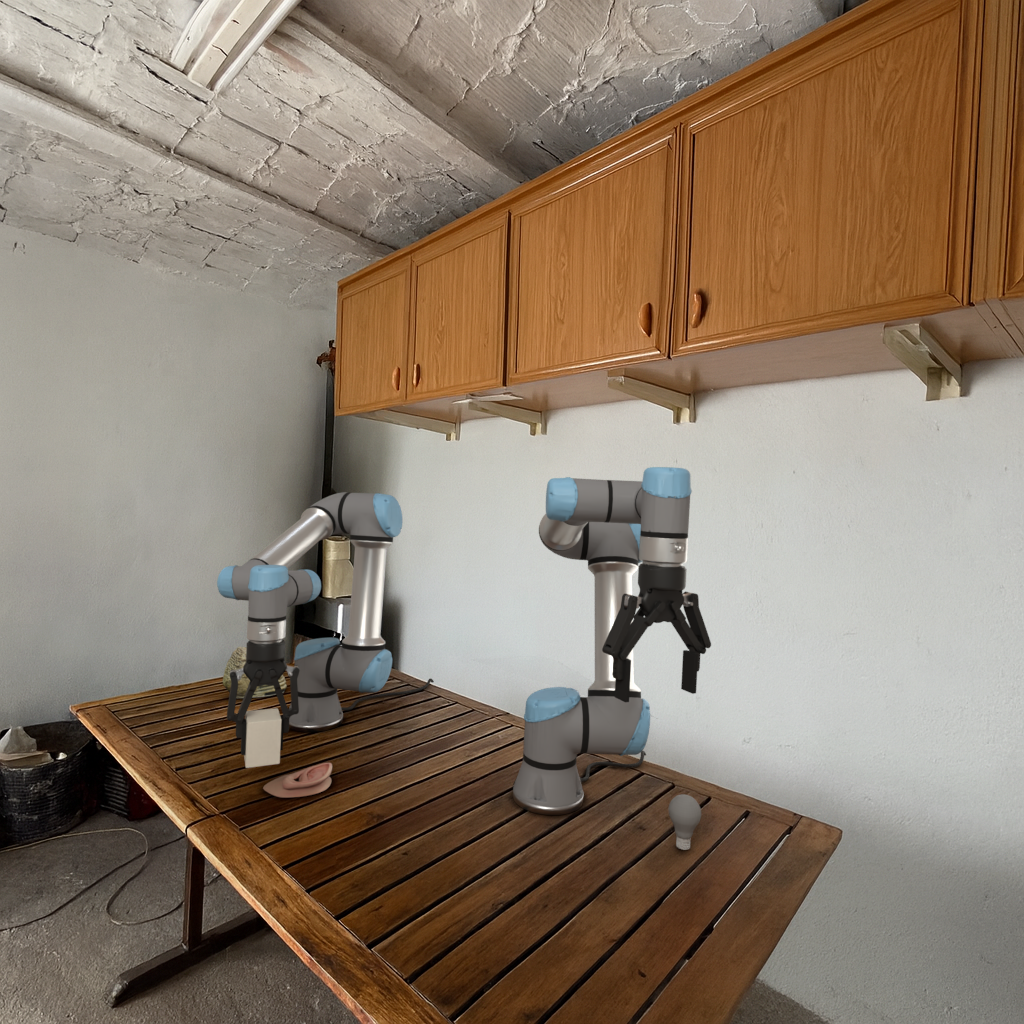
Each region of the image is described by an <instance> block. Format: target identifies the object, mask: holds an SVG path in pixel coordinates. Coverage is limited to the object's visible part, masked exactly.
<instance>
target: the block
mask: <svg viewBox="0 0 1024 1024" xmlns="http://www.w3.org/2000/svg"><path fill="white" fill-rule="evenodd" d="M280 715H281V714H280V711H279V708H277V707H275V708H265V709H255V710H247V712H246V714H245V717H244V719H246V722H247V727H246V752H245V755H243V758H244V765H245V769H249V768H256V767H265V766H272V765H273V766H274V765H280V763H281V751H280V745H281V717H280Z"/></svg>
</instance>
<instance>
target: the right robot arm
mask: <svg viewBox="0 0 1024 1024" xmlns="http://www.w3.org/2000/svg"><path fill="white" fill-rule="evenodd" d="M691 480H692V479H691V473H690V471H689V470H688V469H686V468H683V467H670V466H669V467H668V466H652V467H651V466H649V467H647V468H645V469H644V471H643V474H642V480H641V481H640V480H617V479H615V480H614V479H597V478H596V479H595V478H593V479H592V478H573V477H570V476H565V477H553V478H550V479H549V480H548V481H547V485H546V491H545V514H544V515H543V516H542V517H541V519H540V522H539V525H538V535H539V539H540V541H541V543H542V544H543V546H545V548H546V549H548V550H549V551H550V552H552V553H553V554H555V555H557V556H560V557H563V558H564V559H569V560H575V561H576V560H578V561H587V570H588V571H589V572H590V573H591V574H593V577H594V681H593V683H591V684H590V686H589V687H588V688H587V696H581V694H580V692H579V690H577V689H576V688H573V687H567V686H552V687H545V688H542V689H538V690H536V691H533V692H532V693H531V694H530V695H528V697H527V698H526V701H525V709H524V714H523V720H524V732H523V750H522V763H521V765H520V768H519V770H518V773H517V776H516V778H515V780H514V782H513V783H512V799H513V801H514V802H515V804H516V805H517V806H519V807H520V808H522V809H524V810H525V811H528V812H531V813H533V814H538V815H544V816H561V815H563V816H564V815H569V814H571V813H574V812H577V810H579V809H580V808H581V807H582V806H583V804H584V796H585V795H584V794H585V792H584V789H583V788H584V787H583V784H582V783H586V782H587V781H588V780H589V778H590V771H591V769H592V768H594V767H599V766H604V767H605V766H606V767H615V768H625V769H633V768H637V767H640V766H641V765H642V764H643V762H644V759H645V756H647V752H646V751H645V750H644V749H645V747H646V745H647V742H648V739H649V734H650V726H651V710H650V703H649V701H648V700H647V699H645V698H642V690H641V688H640V687H639V686H638V685H637V684H636V682H635V676H634V672H635V671H634V670H635V669H634V648H635V647H636V644H638V642H639V641H640V640H641V638H642V637H643V635H644V634H645V632H646V631H647V629H648V628H649V627H651V626H653V624H654V623H655V624H661V623H664V622H665V623H670V624H671V625H672V627H673V628H674V629H675V631H676V633H677V635H678V636H679V637H680V639H681V641H682V642H683V643H684V645H685V647H686V648H687V649H684V650H682V664H681V665H682V667H681V685H680V686H681V687H680V689H681V690H682V691H685V692H687V693H689V694H693V695H694V694H697V684H698V672H699V671H700V669H701V654H702V655H705V654H706V653H707V649H710V648H711V647H712V642H711V638H710V637H709V633H708V630H707V627H706V624H705V621H704V618H703V615H702V612H701V609H700V603H699V601H700V600H699V595H698V594H697V593H695V592H690V591H684V590H685V589H686V588H687V572H688V571H687V568H686V566H684V564H686V563H687V562H688V546H689V545H688V544H689V527H690V508H691V494H692V492H693V490H692V483H691ZM636 572H638V573H637V585H638V588H639V592H638V595H633V575H634V574H635V573H636ZM683 591H684V592H683ZM682 606H683V610H684V612H683V611H682V610H681V608H682ZM686 619H687V620H686ZM578 754H585V755H608V756H609V755H610V756H611V755H613V756H620V757H622V756H636V755H639V754H640V757H639V759H638V761H637V762H635V763H620V762H612V761H595V762H591V763H589V764H587V766H586V768H585V776H584V777H580V774H579V770H578V767H577V758H578V757H577V756H578Z"/></svg>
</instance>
